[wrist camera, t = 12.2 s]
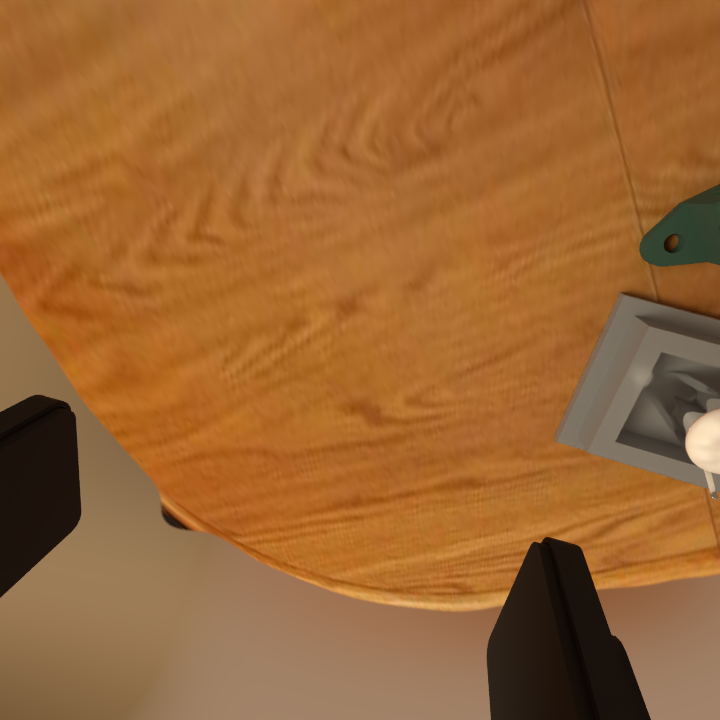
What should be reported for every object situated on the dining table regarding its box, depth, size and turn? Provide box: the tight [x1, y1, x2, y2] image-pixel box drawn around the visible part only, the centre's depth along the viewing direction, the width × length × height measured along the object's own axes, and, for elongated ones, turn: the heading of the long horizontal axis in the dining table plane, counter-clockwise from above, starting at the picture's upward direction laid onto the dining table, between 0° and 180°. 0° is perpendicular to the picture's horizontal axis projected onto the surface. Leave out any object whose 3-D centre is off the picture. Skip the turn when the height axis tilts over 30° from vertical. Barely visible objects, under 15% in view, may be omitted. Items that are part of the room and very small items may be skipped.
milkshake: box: [649, 372, 720, 500], centre depth 32 cm, size 4×5×10 cm
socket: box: [555, 293, 720, 492], centre depth 35 cm, size 13×13×4 cm
